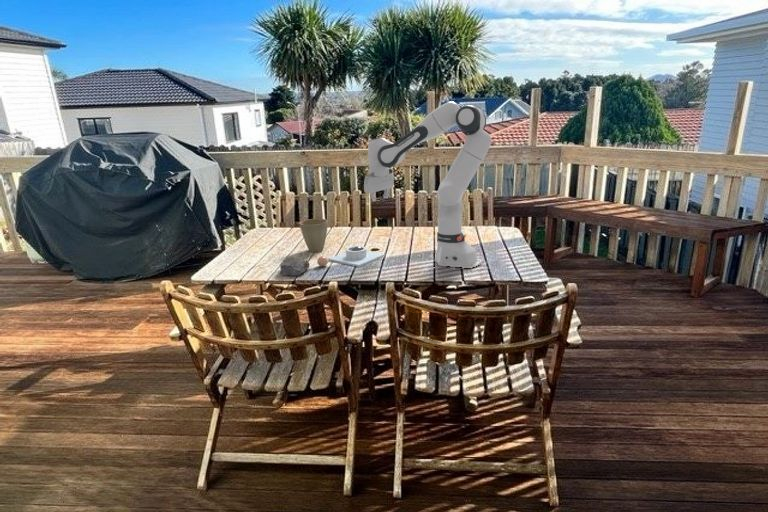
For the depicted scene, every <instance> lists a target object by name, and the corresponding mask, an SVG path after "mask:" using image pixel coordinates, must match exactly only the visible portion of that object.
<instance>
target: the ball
mask: <svg viewBox="0 0 768 512" xmlns="http://www.w3.org/2000/svg"><path fill="white" fill-rule="evenodd" d="M328 259H329V258H327V256H324V255H321V256H318V258H317V262H316V263H317V265H318V266H319V267H326V266H327V264H328V262H329V260H328Z"/></svg>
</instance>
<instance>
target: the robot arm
mask: <svg viewBox="0 0 768 512" xmlns="http://www.w3.org/2000/svg"><path fill="white" fill-rule="evenodd" d="M486 125H487V117H486V115H485V113H484V112H483V111H482V110H481V109H479V108H478V107H476V106H475V105H471V104H468V105H464V106H461V105H459V104H458V103H457V102H455V101H452V100H451V101H447V102H445V103H443V104H441V105H440V106H438V107H437V108H434V110H431V112H430V113H428V114H427V115H426V116H425V117H424V118H422V119H421V121H420V122H419V123H418V124H417V125H416V126H415V127H414V128H413V129H412V130H410V131H409V132H408V133H407V134H405V135H404V136H402V137H400V138H399V139H398V140H396V141H395V142H392V141H390V140H387V139H386V138H384V137H381V136H379V137H376V138H372V139H370V140H369V141H368V147H367V156H368V161H369V162H368V173H367V174H366V175H365V176H364V181H363V183H364V184H363V191H364V194H365V193H366V194H369V195H370V197H371V201H372V202H376V201H377V197H376V195H375V194H376V193H378V192H380V191H384V193H383V194H382V197H383V199H388V197H389V196H388V194H389V191H390V189H392V188H394V185H395V182H394V169H392V167H394V166H396V165H399V164H401V163H402V162H403V161H404V160H405V159H406V154H407V153H406V152H408V151H409V150H411V149H412V148H414V147H415V146H417V145H419V144H421V143H423V142H427V141H432V140H433V139H436V138H438V137H440V136H442V135H443V134H445V133H446V132H447V131H449V130H450V129H452V128H454V127H458V128H459V129H460V130H461V131H462V133H463V134H465V135H466V139H465V141H464V144H463V145H462V147H461V148H460V150H459V152H458V153H457V155H456V156H455V158H454V160H453V163H452V164H451V166H450V167H449V170H448V171H447V173H446V175H445V176H444V179H443V180H442V181H441V182H440V184H439V186H438V189H437V193H436V194H437V198H438V203H437V204H438V205H437V207H438V208H437V210H438V211H437V232H436V241H437V245H436V246H437V248H436V253H435V257H434V262H435V263H436V264H437V265H438V266H439V267H446V266H450V267H449V268H455V267H462V268H461V269H464V268H471V269H473V268H472V267H475V268H477V267H479V266H481V264H482V263H483V261H482V260H483V259H481V258H478V254H477V250H476V248H474V247H473V245H471V244H470V243H468V242H467V241H466V239H465V238H466V237H467V234H464V233H463V232H462V229H463V227H462V223H463V221H462V219H463V216H462V214H463V213H462V212H463V211H462V210H463V199H462V198H463V196H464V194H465V193H466V190H467V188H468V187H469V185H470V184H471V181H472V180H473V178H474V176H475V175H476V173H477V171H478V169H479V168H480V166H481V164H482V163H483V161H484V159H485V157H486V155H487V153H488V151H490V150H489V149H490V147H491V144H492V137H491V135H490V134H489V132H487V131H486V130H484V129H485V128H486ZM478 265H479V266H478ZM476 266H477V267H476Z"/></svg>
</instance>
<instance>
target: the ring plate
mask: <svg viewBox="0 0 768 512" xmlns="http://www.w3.org/2000/svg"><path fill="white" fill-rule="evenodd" d="M356 246H357V245H355V246H354V245H352V246H349V247H346V248H345V252H342V253H340V254H337V255H334V256H332V257H329V258H327V259H328V262H329V261H330V262H332V263H338V264H343V265H347V266H352V267H357V268H360V267H363V266H365V265H367V264H370V263H372V262H374V261H376V260H379V259H381V257H382V258H384V257H385V254H384V253H378V252H373V251H367V247H365V246H361V245H360V247H361V248H362V249H363V250H361V251H353V249H354V248H355V247H356ZM383 256H384V257H383Z"/></svg>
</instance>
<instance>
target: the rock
mask: <svg viewBox="0 0 768 512" xmlns="http://www.w3.org/2000/svg"><path fill="white" fill-rule="evenodd" d="M279 267H280V274H281V275H282V276H285V275H286V276H295V277H296V276H297V277H298V276H300V275H301V274H304V273H305V272H306V270H308V269H309V268H310V262H309V261H308V259H306V258H303V257H300V258H298V257H297V256H288V257H286V258H284V259H283V260H282V262H281V263H280V264H279Z"/></svg>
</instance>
